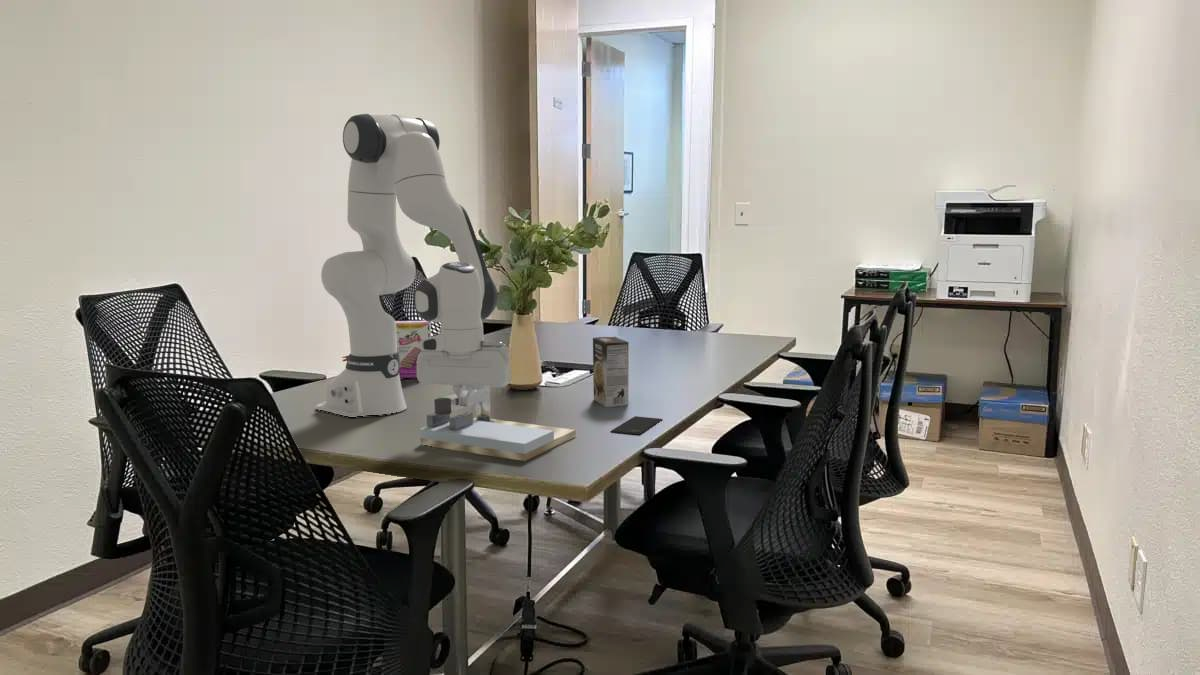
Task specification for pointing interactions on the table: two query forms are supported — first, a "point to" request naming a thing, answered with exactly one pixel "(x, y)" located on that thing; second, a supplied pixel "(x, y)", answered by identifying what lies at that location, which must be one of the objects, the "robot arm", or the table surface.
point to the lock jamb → (491, 436)
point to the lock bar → (452, 404)
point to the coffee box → (610, 371)
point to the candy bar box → (410, 345)
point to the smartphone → (636, 426)
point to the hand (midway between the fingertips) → (465, 405)
